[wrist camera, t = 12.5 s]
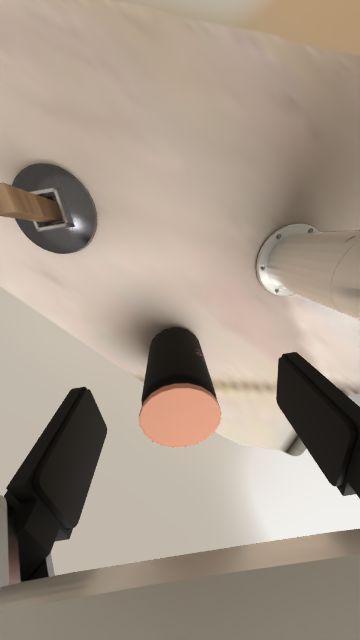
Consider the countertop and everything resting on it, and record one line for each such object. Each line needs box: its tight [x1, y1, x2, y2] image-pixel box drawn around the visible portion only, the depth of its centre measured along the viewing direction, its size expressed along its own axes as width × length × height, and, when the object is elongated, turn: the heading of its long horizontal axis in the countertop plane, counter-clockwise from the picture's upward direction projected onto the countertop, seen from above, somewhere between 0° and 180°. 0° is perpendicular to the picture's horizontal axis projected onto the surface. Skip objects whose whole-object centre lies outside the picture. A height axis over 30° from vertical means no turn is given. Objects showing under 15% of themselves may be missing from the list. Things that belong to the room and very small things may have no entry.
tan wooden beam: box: [0, 183, 63, 223], centre depth 24 cm, size 2×2×10 cm
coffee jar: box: [139, 328, 221, 447], centre depth 33 cm, size 11×11×18 cm
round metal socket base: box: [12, 163, 97, 254], centre depth 29 cm, size 12×12×3 cm
